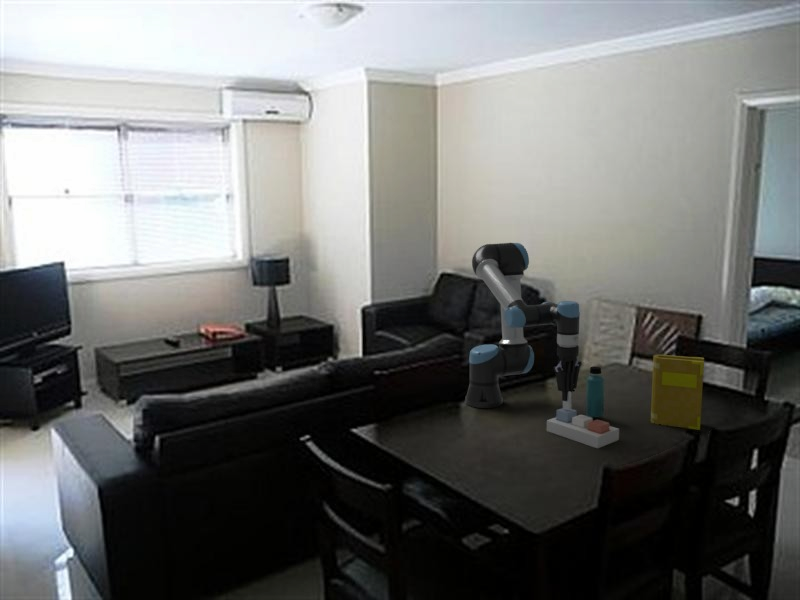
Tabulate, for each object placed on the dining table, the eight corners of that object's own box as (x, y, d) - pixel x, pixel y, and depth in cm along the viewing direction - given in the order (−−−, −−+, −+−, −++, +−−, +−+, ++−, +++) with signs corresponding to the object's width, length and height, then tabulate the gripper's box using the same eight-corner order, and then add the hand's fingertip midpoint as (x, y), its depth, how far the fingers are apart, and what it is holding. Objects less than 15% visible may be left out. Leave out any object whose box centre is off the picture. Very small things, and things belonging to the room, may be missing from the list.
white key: (571, 430, 245) (572, 417, 244) (580, 427, 248) (581, 414, 247) (583, 434, 241) (583, 421, 240) (592, 431, 244) (592, 417, 243)
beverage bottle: (604, 421, 258) (605, 369, 254) (585, 420, 259) (587, 369, 256) (602, 415, 264) (604, 365, 261) (584, 415, 265) (586, 364, 262)
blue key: (556, 423, 250) (556, 410, 249) (565, 420, 253) (565, 407, 252) (567, 426, 246) (567, 413, 245) (576, 423, 249) (576, 410, 248)
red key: (588, 436, 239) (588, 422, 238) (597, 432, 242) (597, 419, 241) (600, 440, 235) (600, 426, 234) (609, 436, 238) (609, 423, 237)
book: (700, 423, 253) (704, 357, 249) (699, 429, 247) (703, 362, 243) (651, 418, 260) (654, 353, 256) (649, 423, 254) (652, 358, 250)
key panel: (546, 430, 249) (546, 420, 249) (567, 423, 257) (568, 413, 256) (597, 448, 232) (597, 437, 231) (618, 439, 239) (619, 428, 239)
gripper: (564, 349, 238) (563, 415, 241) (588, 343, 245) (586, 407, 249) (547, 346, 243) (546, 410, 247) (571, 340, 251) (570, 402, 255)
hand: (566, 408), depth 248 cm, fingers closed
